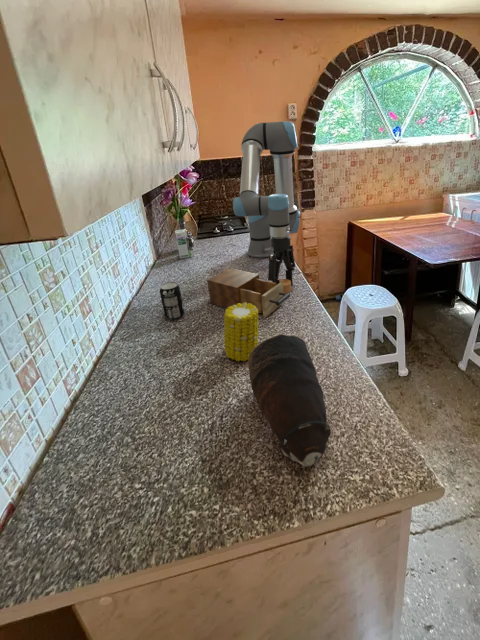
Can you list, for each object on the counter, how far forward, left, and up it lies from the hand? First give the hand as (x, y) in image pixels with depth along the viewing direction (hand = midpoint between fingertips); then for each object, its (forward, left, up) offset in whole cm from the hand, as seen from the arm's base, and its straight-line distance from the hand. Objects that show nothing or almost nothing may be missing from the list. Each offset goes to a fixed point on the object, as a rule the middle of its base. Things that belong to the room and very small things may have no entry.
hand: (283, 289), depth 125 cm
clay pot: (+51, +35, 0) cm, 62 cm away
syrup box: (-10, -70, 0) cm, 71 cm away
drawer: (+15, +2, +1) cm, 15 cm away
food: (+38, +11, 0) cm, 40 cm away
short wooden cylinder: (0, 0, 0) cm, 0 cm away
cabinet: (+15, -12, 0) cm, 19 cm away
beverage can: (+34, -24, 0) cm, 42 cm away
